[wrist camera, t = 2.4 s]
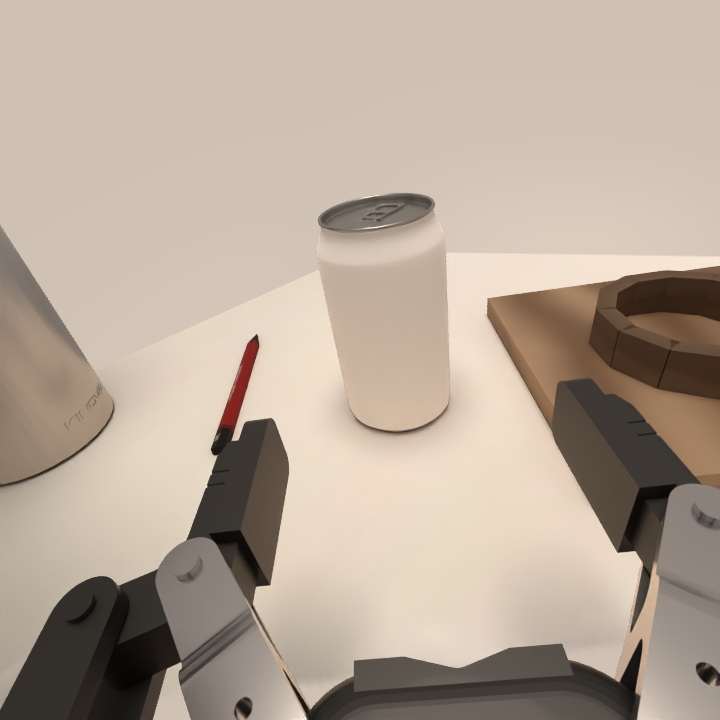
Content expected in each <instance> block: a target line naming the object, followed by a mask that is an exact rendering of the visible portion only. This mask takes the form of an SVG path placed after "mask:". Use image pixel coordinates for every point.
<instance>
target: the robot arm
mask: <svg viewBox="0 0 720 720" xmlns="http://www.w3.org/2000/svg"><path fill="white" fill-rule="evenodd" d="M112 410H113V400H112V398H111V397H110V395H109V394H108V392H107V391H106V389H105V387H104V386H103V384H102V383H101V381H100V380H99V378H98V376H97V375H96V373H95V372H94V370H93V369H92V367H91V365H90V364H89V363H88V361H87V359H86V358H85V356H84V354H83V353H82V351H81V349H80V348H79V346H78V345H77V343H76V342H75V340H74V339H73V337H72V336H71V334H70V332H69V331H68V329H67V328H66V326H65V325H64V323H63V322H62V320H61V318H60V317H59V315H58V314H57V312H56V311H55V309H54V308H53V306H52V305H51V303H50V302H49V300H48V298H47V297H46V295H45V294H44V292H43V291H42V289H41V287H40V286H39V284H38V283H37V281H36V280H35V278H34V277H33V275H32V274H31V272H30V270H29V269H28V267H27V266H26V264H25V263H24V261H23V260H22V258H21V257H20V255H19V253H18V252H17V250H16V249H15V247H14V246H13V244H12V243H11V241H10V240H9V238H8V237H7V235H6V233H5V232H4V230H3V229H2V227H1V226H0V485H1V484H7V483H11V482H15V481H19V480H22V479H25V478H27V477H30V476H33V475H35V474H38V473H40V472H42V471H44V470H46V469H48V468H50V467H52V466H54V465H56V464H58V463H60V462H61V461H63V460H64V459H66V458H68V457H69V456H71V455H73V454H74V453H75V452H77V451H78V450H79V449H81V448H82V447H83V446H85V445H86V444H87V443H88V442H89V441H90V440H91V439H92V438H94V437H95V436H96V435H97V434H98V433H99V431H100V430H101V429H102V428H103V427H104V426H105V424H106V423H107V421H108V419H109V418H110V416H111V414H112ZM552 431H553V436H554V439H555V442H556V444H557V446H558V448H559V450H560V451H561V453H562V455H563V457H564V459H565V460H566V462H567V464H568V466H569V467H570V469H571V471H572V473H573V475H574V476H575V478H576V480H577V482H578V483H579V485H580V487H581V489H582V491H583V492H584V494H585V496H586V498H587V499H588V501H589V503H590V505H591V507H592V508H593V510H594V512H595V514H596V515H597V517H598V519H599V521H600V523H601V524H602V526H603V528H604V530H605V531H606V533H607V535H608V537H609V538H610V540H611V542H612V544H613V546H614V547H615V549H616V551H617V553H620V552H630V551H636V553H637V554H638V556H639V557H640V559H641V561H642V564H641V567H640V570H639V575H638V580H637V585H636V590H635V595H634V600H633V605H632V610H631V615H630V620H629V625H628V630H627V635H626V639H625V643H624V647H623V651H622V654H621V657H620V660H619V664H618V667H617V671H616V676H615V679H613V678H611V677H610V676H608V675H606V674H605V673H603V672H600V671H598V670H596V669H594V668H592V667H590V666H587V665H584V664H581V663H578V662H575V661H571V660H568V658H567V656H566V653H565V650H564V648H563V645H562V644H552V645H540V646H528V647H515V648H508V649H506V650H503V651H501V652H499V653H496V654H494V655H491V656H489V657H487V658H484V659H482V660H479V661H477V662H475V663H472V664H470V665H467V666H465V667H462V668H452V667H448V666H443V665H439V664H434V663H430V662H425V661H421V660H416V659H412V658H407V657H393V658H381V659H369V660H357V661H354V676H353V677H351V678H349V679H346V680H345V681H343V682H341V683H340V684H338V685H336V686H335V687H334V688H332V689H331V690H330V691H329V692H327V693H326V694H325V695H324V696H323V697H322V698H321V699H320V700H319V701H318V702H317V703H316V704H315V705H314V706H313V707H312V709H311V708H310V707H309V705H308V703H307V701H306V699H305V697H304V696H303V694H302V692H301V690H300V688H299V687H298V685H297V683H296V681H295V680H294V678H293V676H292V675H291V673H290V671H289V669H288V667H287V666H286V664H285V662H284V660H283V658H282V656H281V655H280V653H279V651H278V649H277V647H276V645H275V643H274V642H273V640H272V638H271V636H270V634H269V632H268V630H267V629H266V627H265V625H264V623H263V621H262V619H261V618H260V616H259V614H258V612H257V610H256V608H255V606H254V605H253V599H254V594H255V589H256V587H257V586H267V585H270V584H271V578H272V572H273V566H274V560H275V554H276V548H277V542H278V536H279V530H280V524H281V518H282V512H283V506H284V500H285V494H286V488H287V482H288V476H289V463H288V457H287V453H286V451H285V448H284V445H283V443H282V440H281V437H280V434H279V432H278V429H277V426H276V424H275V422H274V420H273V419H272V418H269V419H261V420H254V421H247V422H245V424H244V426H243V429H242V432H241V435H240V438H239V440H238V441H231V442H229V443H228V444H227V445H226V447H225V448H224V449H223V450H222V451H221V453H220V454H219V455H218V456H217V459H216V462H215V465H214V467H213V470H212V475H210V478H209V481H208V484H207V488H206V489H205V492H204V495H203V497H202V500H201V503H200V505H199V508H198V511H197V514H196V516H195V519H194V522H193V524H192V527H191V530H190V533H189V535H188V538H187V540H186V541H185V542H183V543H181V544H179V545H178V546H176V547H175V548H174V549H173V550H172V551H170V552H169V553H168V555H167V556H166V557H165V558H164V560H163V561H162V562H161V564H160V566H159V568H158V569H157V570H155V571H153V572H150V573H148V574H146V575H143V576H141V577H138V578H136V579H134V580H131V581H129V582H126V583H124V584H122V585H119V586H118V585H117V584H116V583H115V582H114V581H113V580H112V579H111V578H109V577H105V576H98V577H94V578H90V579H88V580H86V581H84V582H82V583H80V584H78V585H77V586H75V587H74V588H73V589H71V590H70V591H69V592H68V593H67V594H66V595H65V596H64V597H63V598H62V599H61V600H60V601H59V602H58V603H57V605H56V606H55V608H54V609H53V611H52V612H51V614H50V616H49V618H48V620H47V622H46V624H45V625H44V627H43V629H42V631H41V633H40V635H39V637H38V639H37V641H36V643H35V645H34V646H33V648H32V650H31V652H30V654H29V656H28V658H27V660H26V662H25V664H24V666H23V668H22V669H21V671H20V673H19V675H18V677H17V679H16V681H15V683H14V685H13V687H12V689H11V690H10V692H9V694H8V696H7V698H6V700H5V702H4V704H3V706H2V708H1V710H0V720H153V717H154V713H155V709H156V706H157V702H158V699H159V695H160V691H161V688H162V684H163V680H164V677H165V673H166V669H167V668H169V667H171V666H173V665H175V664H178V663H180V662H181V663H182V669H181V670H180V671H179V682H180V686H181V690H182V693H183V696H184V699H185V702H186V705H187V708H188V712H189V714H190V718H191V720H720V489H717V488H714V487H711V486H707V485H702V484H701V483H700V482H699V480H698V479H697V478H696V477H695V476H694V475H693V473H692V472H691V471H690V470H689V469H688V468H687V467H686V465H685V464H684V463H683V462H682V461H681V460H680V459H679V457H678V456H677V455H676V454H675V453H674V452H673V451H672V449H671V448H670V447H669V446H668V445H667V444H666V442H665V441H664V440H663V439H662V438H661V437H660V436H659V435H657V432H656V431H655V430H654V429H653V428H652V426H651V425H650V424H649V423H646V419H645V418H644V417H643V416H642V415H641V414H640V413H639V411H638V410H637V409H636V408H635V407H634V406H633V405H632V404H630V403H629V402H627V401H625V400H624V399H622V398H620V397H619V396H617V395H615V394H606V395H605V394H604V393H603V392H602V390H601V389H600V388H599V387H598V385H597V384H596V383H595V382H594V381H593V380H592V379H591V378H581V379H573V380H565V381H560V382H559V383H558V384H557V388H556V396H555V403H554V410H553V418H552Z"/></svg>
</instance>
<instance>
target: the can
mask: <svg viewBox="0 0 720 720" xmlns="http://www.w3.org/2000/svg"><path fill="white" fill-rule="evenodd" d="M434 207H435V203H434V201H433V199H432V198H430V197H428V196H425V195H421V194H413V193H391V194H381V195H374V196H368V197H363V198H358V199H355V200H351V201H347V202H345V203H341V204H339V205H336V206H334V207H332V208H330V209H328V210H326V211H325V212H323V213H322V214H321V215H320V216H319V218H318V223H319V225H320V226H321V233H320V237H319V241H318V246H317V259H318V265H319V270H320V275H321V280H322V284H323V289H324V294H325V298H326V303H327V308H328V312H329V317H330V322H331V326H332V331H333V335H334V340H335V345H336V349H337V354H338V358H339V363H340V367H341V372H342V376H343V381H344V385H345V390H346V394H347V398H348V402H349V406H350V409H351V411H352V413H353V414H354V415H355V417H356V418H357V419H358V420H359V421H361V422H362V423H364V424H366V425H368V426H370V427H372V428H375V429H379V430H384V431H391V432H403V431H409V430H414V429H417V428H420V427H422V426H424V425H426V424H428V423H430V422H431V421H433V420H434V419H435V418H436V417H438V416H439V415H440V414H441V413H442V412H443V411H444V409H445V408H446V406H447V404H448V402H449V397H450V369H449V334H448V303H447V275H446V250H445V237H444V232H443V229H442V228H441V226H440V224H439V222H438V220H437V218H436V216H435V214H434V211H433V209H434Z"/></svg>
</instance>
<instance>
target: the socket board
mask: <svg viewBox="0 0 720 720" xmlns="http://www.w3.org/2000/svg"><path fill="white" fill-rule="evenodd" d="M487 316H488V317H489V319H490V321H491V323H492V324H493V326H494V328H495V330H496V332H497V333H498V335H499V337H500V339H501V340H502V342H503V344H504V346H505V348H506V349H507V351H508V353H509V355H510V356H511V358H512V360H513V362H514V364H515V365H516V367H517V369H518V371H519V372H520V374H521V376H522V378H523V380H524V381H525V383H526V385H527V387H528V388H529V390H530V392H531V394H532V396H533V397H534V399H535V401H536V403H537V404H538V406H539V408H540V410H541V412H542V413H543V415H544V417H545V419H546V420H547V422H548V424H549V426H550V428H551V429H552V418H553V410H554V403H555V396H556V388H557V384H558V383H559V382H560V381H565V380H573V379H581V378H591V379H592V380H593V381H594V382H595V383H596V384H597V385H598V387H599V388H600V389H601V390H602V392H603V393H604V394H605V395H606V394H615V395H617V396H619V397H620V398H622V399H624V400H625V401H627V402H629V403H630V404H632V405H633V406H634V407H635V408H636V409H637V410H638V411H639V413H640V414H641V415H642V416H643V417H644V418H645V419H646V423H649V424H650V425H651V426H652V428H653V429H654V430H655V431H656V432H657V435H659V436H660V437H661V438H662V439H663V440H664V441H665V442H666V444H667V445H668V446H669V447H670V448H671V449H672V451H673V452H674V453H675V454H676V455H677V456H678V457H679V459H680V460H681V461H682V462H683V463H684V464H685V465H686V467H687V468H688V469H689V470H690V471H691V472H692V473H693V475H694V476H695V477H696V478H697V479H698V480H699V482H700V483H701V484H702V485H707V486H711V487H714V488H717V489H720V266H716V267H709V268H701V269H694V270H687V271H669V270H666V271H658V272H650V273H643V274H636V275H629V276H624V277H622V278H620V279H618V280H616V281H608V282H601V283H594V284H587V285H580V286H573V287H566V288H558V289H551V290H544V291H537V292H530V293H523V294H515V295H508V296H501V297H494V298H488V305H487Z"/></svg>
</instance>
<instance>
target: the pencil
mask: <svg viewBox="0 0 720 720" xmlns="http://www.w3.org/2000/svg"><path fill="white" fill-rule="evenodd" d="M258 349H259V342H258V336H257V334H256V335H255V336H254V337H253V338H252V339H251V340H250V341H249V343H248V344H247V347H246V350H245V352H244V355H243V358H242V361H241V364H240V367H239V370H238V373H237V375H236V378H235V381H234V384H233V387H232V390H231V393H230V396H229V399H228V401H227V404H226V407H225V410H224V413H223V416H222V419H221V422H220V425H219V427H218V430H217V433H216V436H215V439H214V442H213V445H212V448H211V451H212V453H213V455H218V454H220V453H221V451H222V450H223V449H224V448H225V447H226V445H227V444H228V443H229V442H231V440H232V436H233V433H234V430H235V426H236V423H237V419H238V416H239V413H240V409H241V406H242V403H243V399H244V396H245V392H246V389H247V386H248V382H249V379H250V376H251V372H252V369H253V365H254V362H255V359H256V355H257V352H258Z"/></svg>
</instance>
